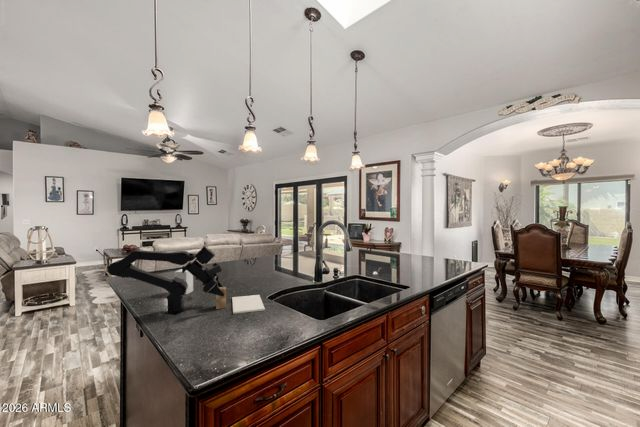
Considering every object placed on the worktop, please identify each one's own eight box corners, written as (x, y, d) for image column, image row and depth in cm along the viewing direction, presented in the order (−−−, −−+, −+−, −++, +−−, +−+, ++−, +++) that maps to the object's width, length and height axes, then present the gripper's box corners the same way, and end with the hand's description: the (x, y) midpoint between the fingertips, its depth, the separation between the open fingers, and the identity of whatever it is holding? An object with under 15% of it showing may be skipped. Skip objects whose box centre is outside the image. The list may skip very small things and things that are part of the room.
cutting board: (233, 313, 124) (233, 312, 124) (232, 298, 145) (232, 297, 145) (264, 310, 129) (264, 308, 128) (259, 296, 149) (259, 294, 149)
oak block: (216, 309, 130) (216, 290, 130) (216, 305, 134) (216, 287, 134) (226, 308, 131) (226, 289, 131) (226, 304, 136) (226, 286, 135)
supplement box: (193, 290, 158) (193, 269, 158) (186, 294, 151) (186, 271, 151) (181, 290, 159) (181, 268, 159) (173, 294, 152) (173, 271, 152)
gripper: (210, 262, 122) (237, 284, 126) (212, 255, 140) (235, 275, 144) (191, 281, 120) (218, 304, 124) (196, 272, 138) (219, 292, 141)
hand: (224, 292), depth 133 cm, fingers open, 9 cm apart
